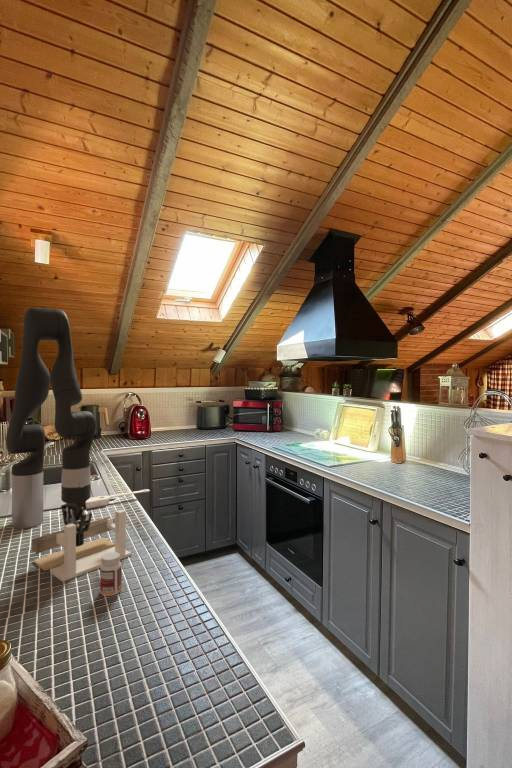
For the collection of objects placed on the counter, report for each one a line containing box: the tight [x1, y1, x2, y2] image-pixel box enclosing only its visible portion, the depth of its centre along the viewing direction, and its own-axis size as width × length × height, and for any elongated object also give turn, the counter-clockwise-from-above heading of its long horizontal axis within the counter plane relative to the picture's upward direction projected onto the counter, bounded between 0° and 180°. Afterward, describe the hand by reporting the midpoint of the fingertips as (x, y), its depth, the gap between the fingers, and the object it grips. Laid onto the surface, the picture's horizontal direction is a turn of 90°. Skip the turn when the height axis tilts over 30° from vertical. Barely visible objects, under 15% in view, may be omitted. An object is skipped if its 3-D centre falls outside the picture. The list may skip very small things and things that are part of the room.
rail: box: [31, 516, 115, 555], centre depth 112 cm, size 3×22×3 cm, turn 140°
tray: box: [33, 537, 115, 571], centre depth 113 cm, size 7×20×1 cm, turn 140°
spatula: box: [86, 488, 151, 510], centre depth 158 cm, size 28×6×3 cm, turn 128°
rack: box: [49, 508, 132, 583], centre depth 107 cm, size 7×19×13 cm, turn 140°
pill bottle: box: [99, 552, 123, 597], centre depth 94 cm, size 5×5×8 cm
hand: (76, 543), depth 112 cm, fingers closed on rail, 3 cm apart
